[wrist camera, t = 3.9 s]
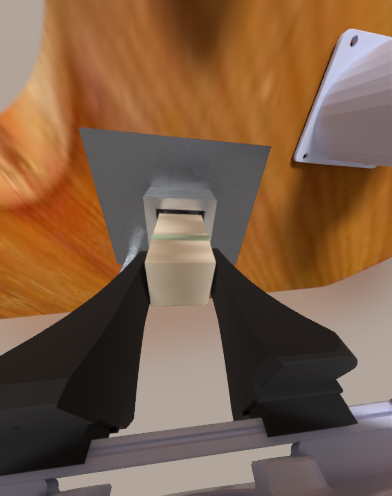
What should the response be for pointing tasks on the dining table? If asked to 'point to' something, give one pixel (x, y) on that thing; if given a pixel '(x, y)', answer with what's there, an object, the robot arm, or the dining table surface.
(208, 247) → the block
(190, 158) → the stand
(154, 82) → the dining table surface
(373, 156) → the robot arm
